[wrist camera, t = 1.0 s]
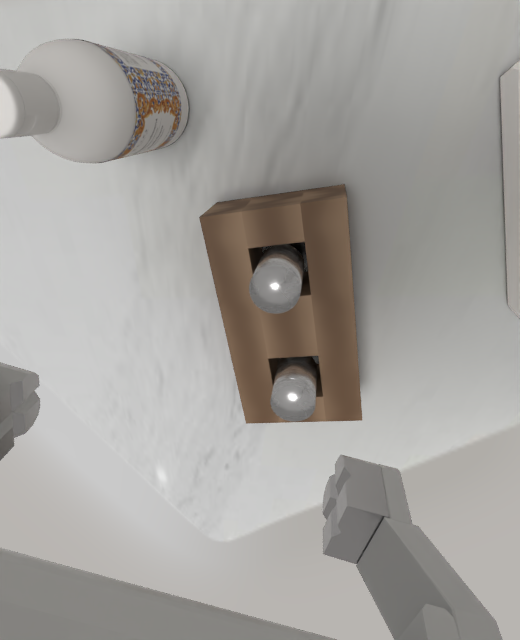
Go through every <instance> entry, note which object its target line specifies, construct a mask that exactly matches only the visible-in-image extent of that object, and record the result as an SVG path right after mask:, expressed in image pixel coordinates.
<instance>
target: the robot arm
mask: <svg viewBox="0 0 520 640" xmlns="http://www.w3.org/2000/svg"><path fill="white" fill-rule="evenodd" d="M38 386H39V375H37V374H36V373H34V372H31V371H28V370H24V369H21V368H17V367H14V366H11V365H7V364H4V363H0V460H1V459H2V458H3V457H4V456H5V455H6V454H7V453H8V452H9V451H10V450H11V449H12V447H13V446H14V438H15V437H17V436H20V435H22V434H25V433H26V432H27V431H28V430H29V429H30V427H31V426H32V425H33V424H34V422H35V420H36V418H37V416H38V413H39V409H40V398H39V397H38V395H37V394H36V393H35V391H34V390H35V389H36V388H37V387H38ZM323 515H324V516H325V518H326V519H327V521H326V524H325V526H324V528H323V554H325V555H328V556H331V557H335V558H338V559H341V560H345V561H348V562H351V563H354V564H357V565H356V566H357V568H358V570H359V572H360V574H361V576H362V578H363V580H364V582H365V584H366V586H367V588H368V590H369V592H370V593H371V595H372V597H373V599H374V601H375V603H376V605H377V607H378V609H379V611H380V613H381V615H382V616H383V618H384V620H385V622H386V624H387V626H388V628H389V630H390V632H391V634H392V636H393V638H394V640H502V637H501V634H500V631H499V628H498V625H497V623H496V621H495V619H494V618H493V617H492V616H491V614H490V613H489V612H488V611H487V610H486V609H485V607H484V606H483V605H482V603H481V602H480V601H479V600H478V599H477V597H476V596H475V595H474V594H473V592H472V591H471V590H470V589H469V588H468V586H467V585H466V584H465V583H464V582H463V580H462V579H461V578H460V577H459V575H458V574H457V573H456V572H455V570H454V569H453V568H452V567H451V566H450V565H449V563H448V562H447V561H446V560H445V558H444V557H443V556H442V555H441V553H440V552H439V551H438V550H437V549H436V547H435V546H434V545H433V544H432V543H431V541H430V540H429V539H428V537H427V536H426V535H425V534H424V533H423V531H422V530H421V529H420V528H419V526H416V525H413V524H412V520H411V516H410V512H409V508H408V503H407V499H406V495H405V490H404V487H403V482H402V478H401V474H400V471H399V470H398V469H396V468H392V467H388V466H384V465H380V464H375V463H371V462H368V461H364V460H360V459H356V458H352V457H348V456H344V455H340V456H339V458H338V459H337V461H336V464H335V474H334V475H332V476H330V477H329V480H328V482H327V485H326V488H325V492H324V497H323ZM0 640H336V639H332V638H329V637H325V636H322V635H318V634H314V633H311V632H307V631H303V630H300V629H296V628H292V627H289V626H285V625H281V624H278V623H273V622H270V621H267V620H263V619H259V618H256V617H252V616H248V615H245V614H241V613H237V612H234V611H230V610H226V609H223V608H219V607H215V606H212V605H208V604H204V603H201V602H197V601H193V600H189V599H186V598H182V597H178V596H175V595H171V594H167V593H164V592H160V591H157V590H153V589H149V588H145V587H142V586H138V585H134V584H131V583H127V582H123V581H119V580H116V579H112V578H108V577H105V576H102V575H98V574H94V573H90V572H87V571H83V570H80V569H76V568H72V567H69V566H65V565H61V564H57V563H54V562H50V561H47V560H43V559H39V558H36V557H32V556H28V555H25V554H21V553H18V552H14V551H10V550H6V549H2V548H0Z"/></svg>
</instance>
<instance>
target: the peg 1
mask: <svg viewBox="0 0 520 640" xmlns="http://www.w3.org/2000/svg"><path fill="white" fill-rule="evenodd" d="M303 274H304V259H303V257H302V255H301V253H300V252H299V251H298V250H297V249H296V248H294V247H293V246H291V245H288V244H281V245H273V246H270V247H269V248H268V249H266V250H265V252H264V253H263V254H262V257H261V259H260V261H259V263H258V265H257V267H256V270H255V272H254V274H253V276H252V278H251V281H250V284H249V293H250V297H251V299H252V301H253V302H254V304H255V305H256V306H257V307H258V308H260V309H261V310H263V311H265V312H268V313H273V314H279V313H284V312H287V311H289V310H290V309H292V308H293V307H294V306H295V305H296V303H297V302H298V300H299V297H300V293H301V286H302V280H303Z"/></svg>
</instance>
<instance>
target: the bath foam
mask: <svg viewBox="0 0 520 640" xmlns="http://www.w3.org/2000/svg"><path fill="white" fill-rule="evenodd" d="M188 112H189V106H188V99H187V95H186V92H185V89H184V87H183V85H182V83H181V81H180V79H179V78H178V77H177V76H176V74H175V73H174V72H173V71H172V70H171V69H169V68H168V67H167V66H166V65H164V64H162V63H160V62H158V61H156V60H152V59H149V58H146V57H143V56H139V55H135V54H132V53H128V52H124V51H121V50H117V49H113V48H110V47H106V46H103V45H99V44H95V43H92V42H88V41H84V40H79V39H60V40H54V41H50V42H47V43H44V44H42V45H40V46H38V47H36V48H35V49H33V50H32V51H31V52H29V53H28V54H27V55H26V56H25V58H24V59H23V60H22V62H21V63H20V65H19V66H18V68H17V70H16V71H14V70H6V69H0V138H12V137H22V136H32V137H33V138H34V139H35V140H36V141H37V142H38V143H39V144H40V145H42V146H43V147H44V148H46V149H47V150H49V151H50V152H52V153H54V154H56V155H58V156H60V157H62V158H65V159H68V160H71V161H75V162H81V163H102V162H107V161H111V160H115V159H119V158H123V157H127V156H131V155H136V154H140V153H144V152H148V151H152V150H156V149H159V148H163V147H166V146H168V145H170V144H172V143H173V142H175V141H176V140H177V139H178V138H179V137H180V135H181V134H182V132H183V131H184V129H185V126H186V124H187V120H188Z"/></svg>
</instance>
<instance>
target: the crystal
mask: <svg viewBox="0 0 520 640" xmlns="http://www.w3.org/2000/svg"><path fill="white" fill-rule="evenodd" d="M500 87H501V117H502V146H503V176H504V206H505V236H506V266H507V295H508V306H509V307H510V308H511V309H512V311H513V312H514V313H515V314H516V315H517V316H518V317H519V319H520V61H519V62H517V63H516V64H515V65H514V66H512V67H511V68H510V69H509V70H508V71H507V72H506V73H504V74H503V75H502V76H501V77H500Z"/></svg>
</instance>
